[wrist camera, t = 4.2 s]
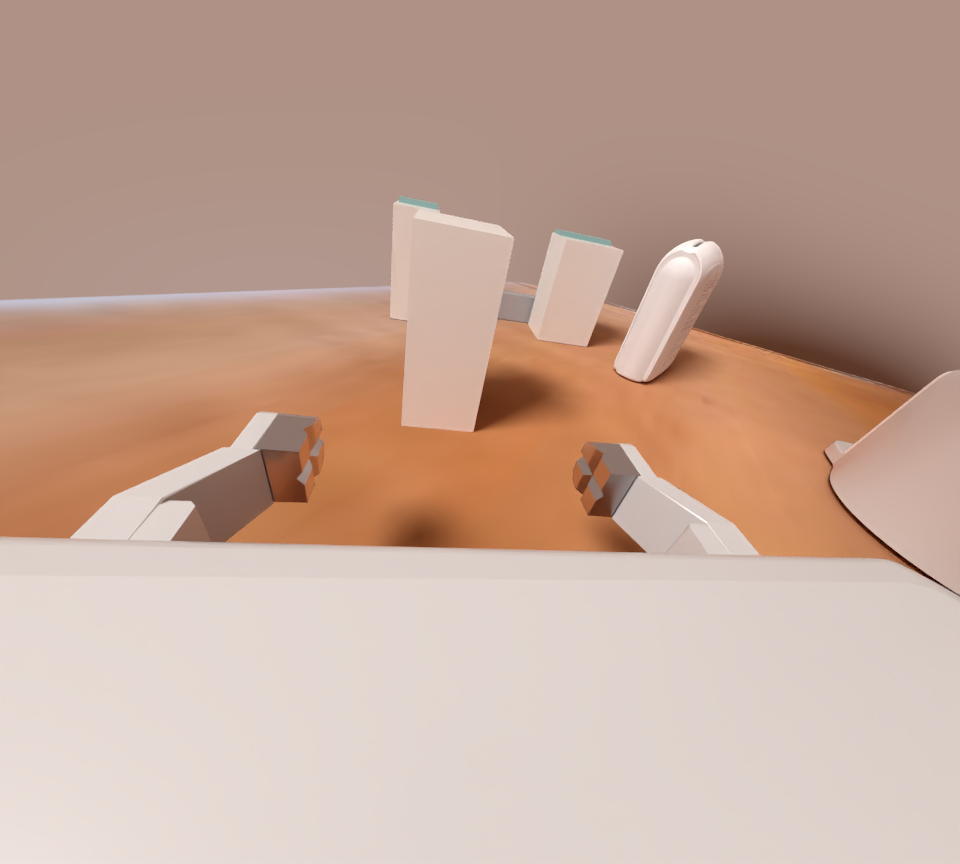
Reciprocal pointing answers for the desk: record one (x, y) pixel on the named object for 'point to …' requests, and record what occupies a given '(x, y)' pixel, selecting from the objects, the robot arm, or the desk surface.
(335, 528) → the desk surface
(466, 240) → the block
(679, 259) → the photo printer
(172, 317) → the desk surface
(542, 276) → the din mount
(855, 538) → the desk surface
